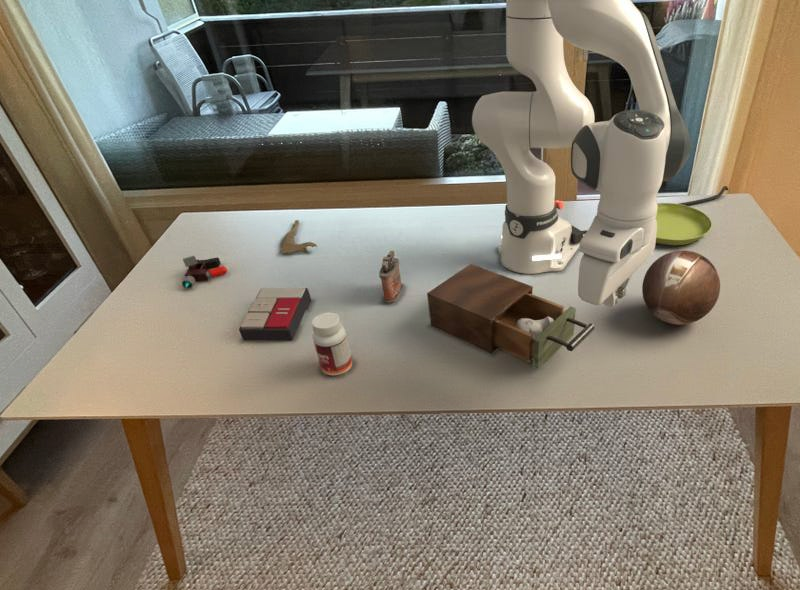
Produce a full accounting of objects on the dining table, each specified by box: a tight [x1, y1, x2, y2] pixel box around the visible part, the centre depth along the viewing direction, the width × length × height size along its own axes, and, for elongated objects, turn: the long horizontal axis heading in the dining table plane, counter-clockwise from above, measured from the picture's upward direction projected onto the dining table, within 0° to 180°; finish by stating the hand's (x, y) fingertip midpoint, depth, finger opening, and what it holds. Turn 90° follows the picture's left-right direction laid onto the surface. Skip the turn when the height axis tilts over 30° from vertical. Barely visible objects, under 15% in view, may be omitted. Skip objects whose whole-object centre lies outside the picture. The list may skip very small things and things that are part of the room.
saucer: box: [655, 202, 713, 246], centre depth 149 cm, size 21×21×3 cm
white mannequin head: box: [515, 316, 554, 341], centre depth 113 cm, size 4×8×5 cm
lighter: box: [378, 249, 404, 305], centre depth 129 cm, size 8×3×10 cm, turn 168°
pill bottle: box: [311, 312, 353, 376], centre depth 109 cm, size 6×6×11 cm
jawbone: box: [279, 219, 318, 255], centre depth 154 cm, size 9×20×2 cm, turn 29°
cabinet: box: [426, 263, 533, 355], centre depth 119 cm, size 16×14×8 cm
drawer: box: [493, 293, 596, 370], centre depth 112 cm, size 21×13×7 cm, turn 52°
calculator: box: [238, 287, 312, 341], centre depth 124 cm, size 11×4×15 cm
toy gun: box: [181, 255, 228, 290], centre depth 139 cm, size 10×12×5 cm
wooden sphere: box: [641, 249, 721, 326], centre depth 116 cm, size 15×15×15 cm
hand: (614, 300), depth 97 cm, fingers closed
